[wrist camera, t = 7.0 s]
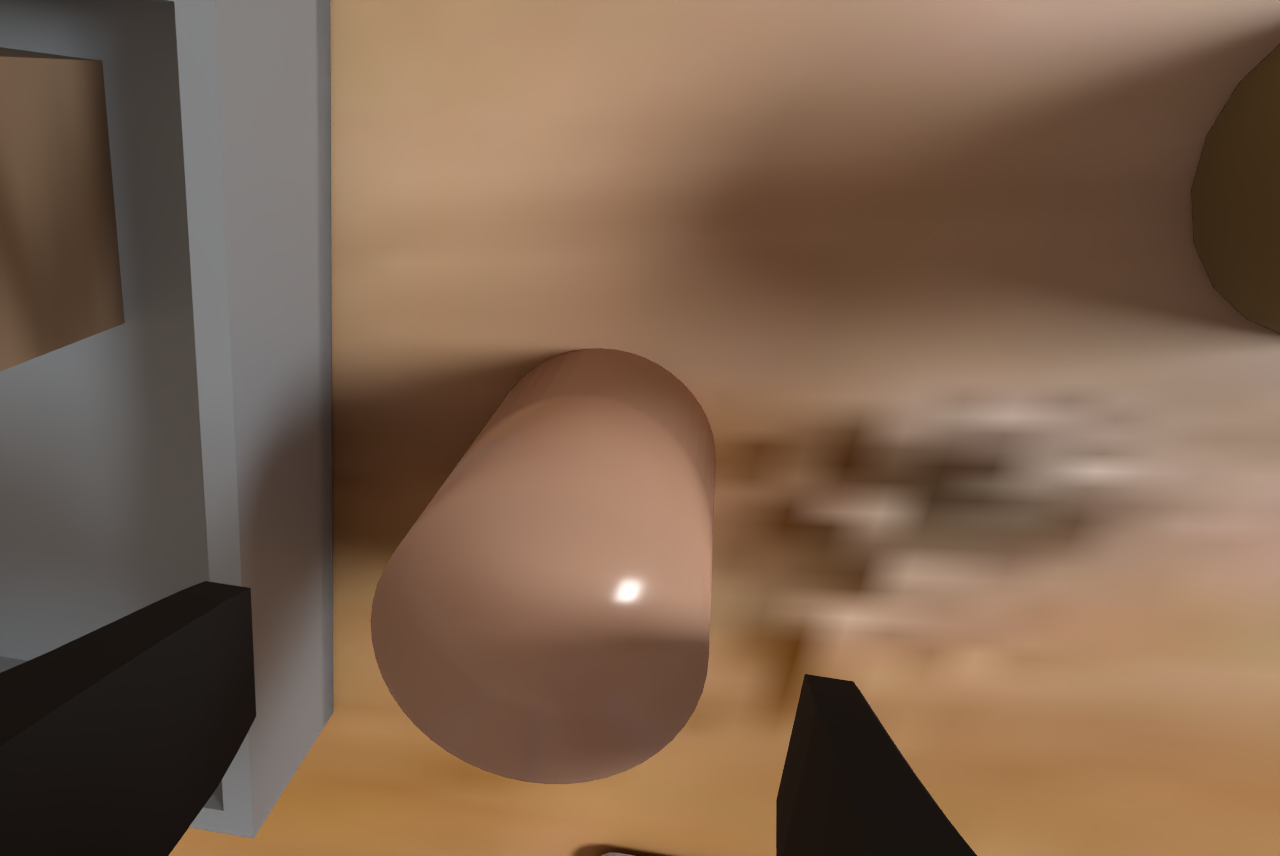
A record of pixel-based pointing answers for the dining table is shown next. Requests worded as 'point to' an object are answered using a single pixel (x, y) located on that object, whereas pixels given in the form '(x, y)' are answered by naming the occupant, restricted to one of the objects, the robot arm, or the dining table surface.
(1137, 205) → the dining table surface
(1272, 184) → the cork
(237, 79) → the tote
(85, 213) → the walnut cube
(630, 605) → the terracotta cylinder
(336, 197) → the dining table surface
